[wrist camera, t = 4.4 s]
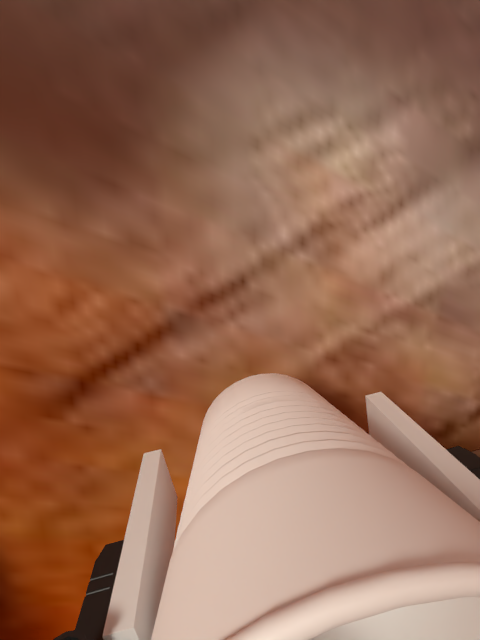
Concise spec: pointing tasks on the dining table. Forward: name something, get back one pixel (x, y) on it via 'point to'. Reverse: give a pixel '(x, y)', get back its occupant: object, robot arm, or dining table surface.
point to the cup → (313, 531)
